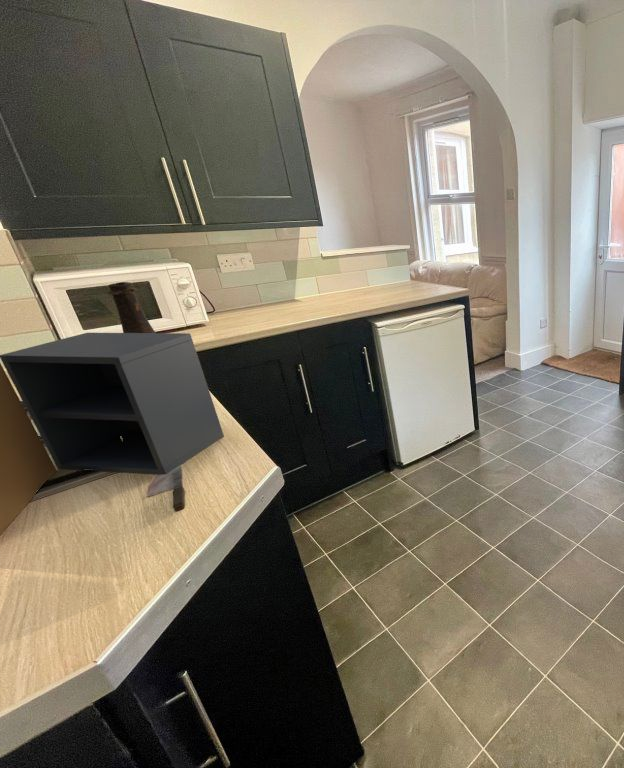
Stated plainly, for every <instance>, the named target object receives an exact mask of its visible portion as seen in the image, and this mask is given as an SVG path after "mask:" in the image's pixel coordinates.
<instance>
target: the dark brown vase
mask: <svg viewBox="0 0 624 768" xmlns="http://www.w3.org/2000/svg"><path fill="white" fill-rule="evenodd" d="M108 287H109V291H107V292H106V294H107V295H111V296H112V298H113V301H114V304H115V308H116V310H117V313H118V317H119V320H120V324H121V328H122V333H157V332H156V331H155V329H154V327H152V325H151V323H150V322H149V319H148V318H147V316H146V314H145V312H144V310H143V308H142V306H141V303H140V302H139V300H138V298H137V295H136V292H137V291H139V289H138V288H135V287H133V283H132V282H129V281H121V282H115V283H110V284H108Z"/></svg>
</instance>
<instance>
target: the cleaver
mask: <svg viewBox="0 0 624 768" xmlns="http://www.w3.org/2000/svg"><path fill="white" fill-rule="evenodd" d="M183 467H184V466H183V464H182V465H180V466H178V467H176V468H175V469H173V470H172V471H170V472H169V473H167V474H160V475H156V476H155V477H154V479H153V480H152V481H151V483H150V484H149V485H148V487H147V498H148V497H152V496H155V495H159V494H162V493H166V492H170V491H172V497H173V498H172V500H173V501H172V507H173V510H174V511H175V512H178V511H180V510H184V509H185V507H186V505H185V503H186V502H185V495H186V490H185V488H184V486H183V482H184V481H183Z"/></svg>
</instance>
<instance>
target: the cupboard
mask: <svg viewBox="0 0 624 768" xmlns="http://www.w3.org/2000/svg"><path fill="white" fill-rule="evenodd" d="M0 360H1V361H0V362H2V364H3V367H4V368H5V370H6V372H7V375H8V376H9V378H10V380H11V383H12V385H13V387H15V389H16V391H17V393H18V396H19V397H20V400H21V401H22V404H23V405H24V408H25V410H27V413H28V414H29V416H30V419H31V421H32V422H33V424H34V426H35V429H36V431H38V432H37V433H39V435H40V437H41V439H42V441H43V444H44V446H45V448H46V449H47V452H49V453H48V454H49V456H50V457H51V459H52V460H53V462H54V464H55V466H56V469H57V470H64V471H80V470H84V469H93V470H98V471H97V472H99V471H102V472H101V473H121V474H122V473H123V474H137V475H138V474H139V475H156V476H157V475H160V474H167V473H169V472H170V471H172V470H173V469H175V468H176V467H178V466H180V465H182V466H183V464H185V463H186V462H188V461H189V460H191V459H192V458H194V457H196V456H197V455H198V454H201V453H202V452H203V451H205V450H206V449H207V448H209V447H211V446H212V445H214V444H215V443H217V442H218V441H219V440H221V439H222V438H223V437H225V434H224V431H223V429H222V426H221V422H220V420H219V416H218V414H217V410H216V407H215V405H214V401H213V399H212V395H211V392H210V389H209V386H208V383H207V380H206V376H205V374H204V371H203V368H202V364H201V362H200V358H199V356H198V352H197V350H196V346H195V343H194V341H193V337H192V335H191V333H189V332H188V333H187V332H185V333H181V332H180V333H178V332H177V333H176V332H175V333H174V332H173V333H172V332H171V333H170V332H156V333H123V332H84V333H80V334H76V335H73V336H68V337H64V338H61V339H60V338H59V339H57V340H53V341H49V342H45V343H42V344H37V345H34V346H30V347H25V348H22V349H18V350H14V351H10V352H6V353H3V354H0ZM120 436H122V438H123V442H122V441H121V439H120ZM178 468H179V467H178Z"/></svg>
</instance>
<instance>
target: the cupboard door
mask: <svg viewBox="0 0 624 768" xmlns="http://www.w3.org/2000/svg"><path fill="white" fill-rule="evenodd" d="M10 380H11V379H9V377H8V374H7V373H6V371H5V369H4V366H3V365H2V364H1V362H0V536H1V535H2V534H3V532H4V531H6V529H7V528H8V527H9V526H10V524H11V523H13V521H14V520H15V519H16V518H17V517H18V515H19V514H20V513H21V512H22V511H23V510H24V509H25V507H26V506H27V505H28V504H29V503H30V502H31V501H32V499H33V498H34V497H35V496H36V495H37V494H36V491H37V490H38V488H39V485H40V484H42V483H44V482H46V481H47V480H48V481H49V480H50V479H51V478H52V477H53V476H54V474H56V472H57V471H58V469H57V467H55V466H56V465H54V464H55V463H53V461H52V458H51V456H50V454H49V453H48V450H46V449H47V448H46V446H45V444H44V442H42V440H41V438H40V436H39V434H38V432H37V429H36V427H34V426H35V425H33V424H34V423H32V422H33V421H32V420H31V418H30V417H29V415H28V412H27V411H26V408H25V406H23V405H24V404H23V402H21V401H22V400H21V399H20V398H19V395H18V394H17V392H16V390H15V388H14V385H13V383H12V381H10ZM48 481H47V482H48ZM47 482H46V483H47ZM35 494H36V495H35ZM34 495H35V496H34ZM32 497H33V498H32Z"/></svg>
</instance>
